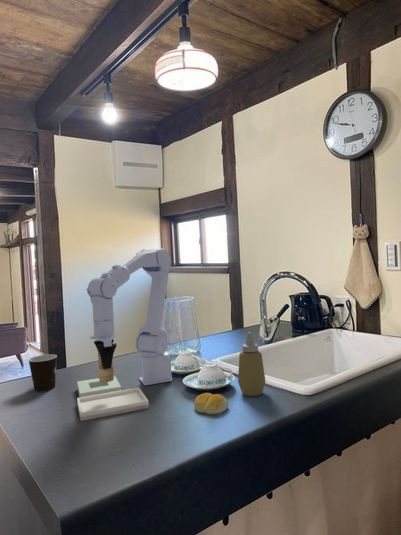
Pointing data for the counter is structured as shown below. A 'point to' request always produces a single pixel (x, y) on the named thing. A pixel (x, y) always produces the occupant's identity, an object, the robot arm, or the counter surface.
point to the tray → (111, 403)
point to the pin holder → (97, 387)
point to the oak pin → (105, 372)
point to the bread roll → (210, 403)
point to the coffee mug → (43, 372)
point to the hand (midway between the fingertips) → (106, 366)
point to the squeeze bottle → (251, 369)
